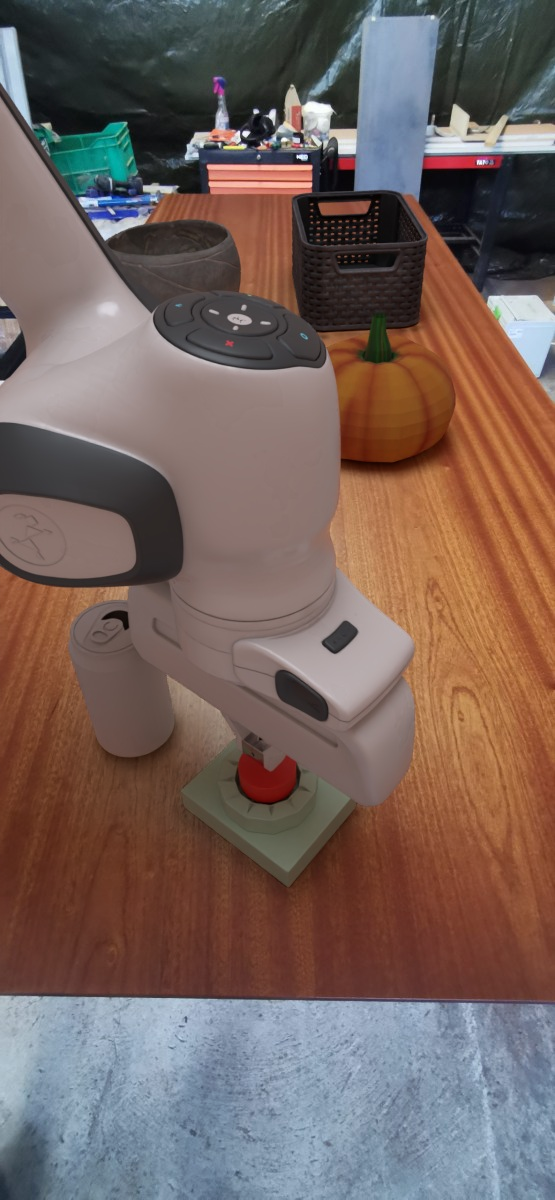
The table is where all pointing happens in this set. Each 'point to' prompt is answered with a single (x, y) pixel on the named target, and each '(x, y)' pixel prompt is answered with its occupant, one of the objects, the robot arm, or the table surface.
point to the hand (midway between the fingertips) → (261, 754)
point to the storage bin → (357, 287)
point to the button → (266, 779)
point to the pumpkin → (390, 395)
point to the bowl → (179, 257)
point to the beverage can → (119, 682)
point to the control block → (268, 815)
